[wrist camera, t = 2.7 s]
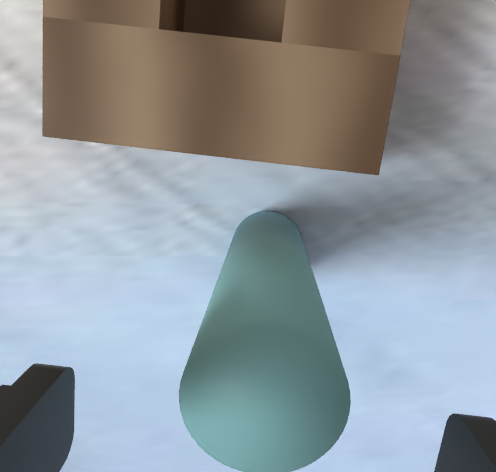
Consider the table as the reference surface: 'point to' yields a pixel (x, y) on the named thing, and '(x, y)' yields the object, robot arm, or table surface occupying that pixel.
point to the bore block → (226, 77)
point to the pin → (265, 357)
